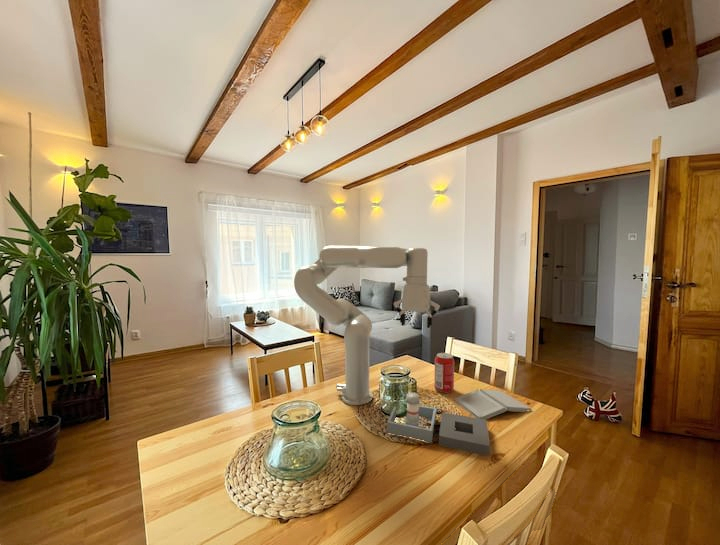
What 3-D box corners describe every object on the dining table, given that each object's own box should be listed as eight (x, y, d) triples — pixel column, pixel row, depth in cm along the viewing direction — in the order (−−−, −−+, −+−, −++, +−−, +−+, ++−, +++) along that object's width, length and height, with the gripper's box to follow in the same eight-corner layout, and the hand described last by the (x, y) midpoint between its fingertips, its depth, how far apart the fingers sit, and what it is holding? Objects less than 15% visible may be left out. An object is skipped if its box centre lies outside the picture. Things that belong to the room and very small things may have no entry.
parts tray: (386, 434, 94) (387, 422, 94) (396, 412, 107) (396, 401, 107) (431, 443, 90) (432, 431, 89) (436, 419, 103) (436, 408, 103)
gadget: (501, 393, 123) (501, 385, 123) (531, 412, 109) (532, 402, 109) (453, 401, 116) (454, 392, 116) (479, 422, 102) (480, 412, 102)
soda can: (433, 392, 123) (434, 357, 122) (434, 384, 130) (435, 351, 129) (453, 395, 120) (454, 359, 119) (453, 387, 128) (454, 353, 127)
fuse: (404, 426, 97) (405, 397, 97) (407, 420, 101) (407, 391, 101) (417, 429, 96) (418, 399, 95) (419, 422, 100) (420, 393, 99)
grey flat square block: (438, 445, 89) (438, 435, 89) (442, 420, 102) (442, 412, 102) (489, 456, 84) (489, 446, 84) (486, 428, 97) (486, 419, 97)
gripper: (391, 280, 111) (391, 326, 112) (439, 282, 104) (438, 330, 106) (396, 279, 118) (396, 321, 119) (441, 281, 111) (440, 325, 113)
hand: (415, 325), depth 112 cm, fingers open, 9 cm apart
